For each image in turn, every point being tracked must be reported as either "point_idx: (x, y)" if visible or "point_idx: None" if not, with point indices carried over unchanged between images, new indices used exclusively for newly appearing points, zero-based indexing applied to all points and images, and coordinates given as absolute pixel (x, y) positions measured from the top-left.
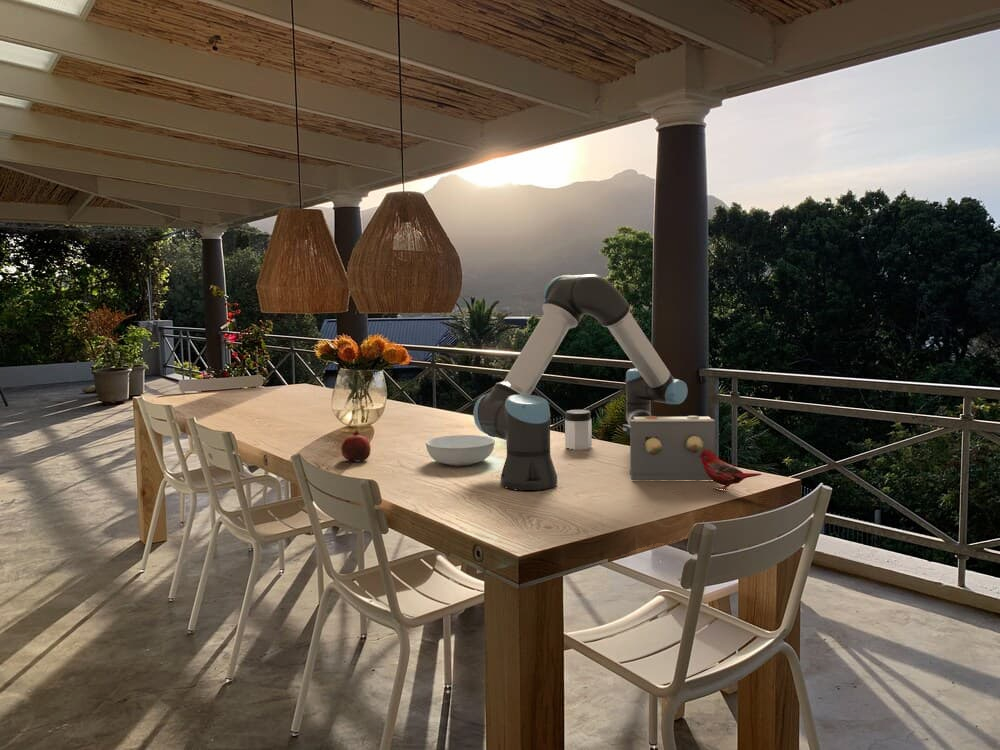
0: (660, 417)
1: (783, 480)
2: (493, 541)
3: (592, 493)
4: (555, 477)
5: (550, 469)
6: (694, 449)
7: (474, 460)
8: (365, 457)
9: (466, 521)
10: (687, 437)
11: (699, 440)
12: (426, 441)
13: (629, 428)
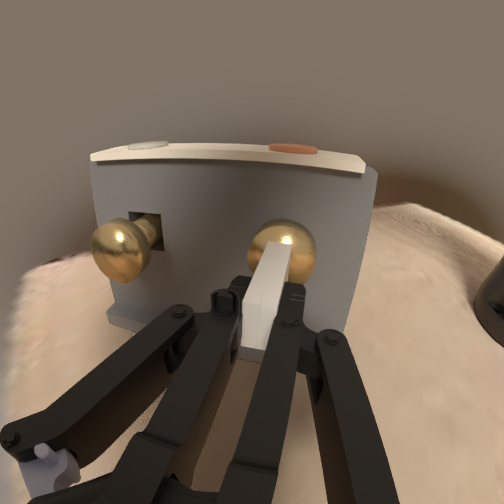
0: (253, 148)
1: (42, 271)
2: (441, 215)
3: (406, 277)
4: (481, 295)
5: (491, 276)
6: None
7: None
8: None
9: (482, 239)
10: (144, 232)
11: None
12: None
13: (375, 437)
